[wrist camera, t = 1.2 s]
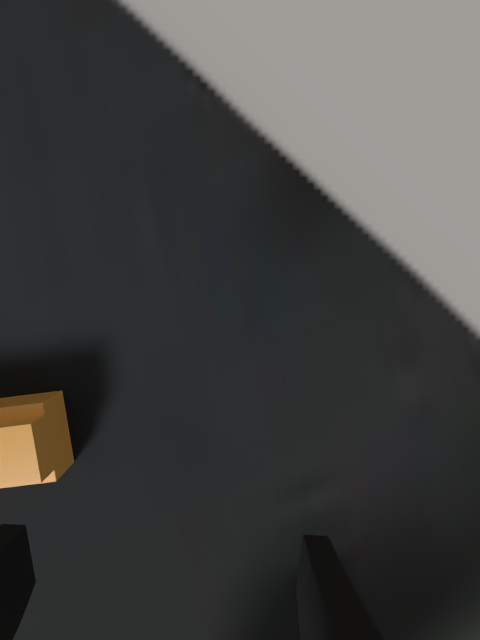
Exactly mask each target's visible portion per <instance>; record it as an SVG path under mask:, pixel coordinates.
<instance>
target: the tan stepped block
mask: <svg viewBox="0 0 480 640" xmlns="http://www.w3.org/2000/svg"><path fill="white" fill-rule="evenodd" d="M73 463H74V457H73V451H72V445H71V439H70V433H69V428H68V422H67V416H66V410H65V404H64V398H63V392H62V391H54V392H46V393H38V394H30V395H22V396H14V397H6V398H0V488H7V487H15V486H23V485H31V484H39V483H48V482H56V481H57V480H58V479H59V478H60V477H61V476H62V475H63V474H64V472H65V471H66V470H67V469H68V468H69V467H70V466H71V465H72V464H73Z"/></svg>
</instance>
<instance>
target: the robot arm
mask: <svg viewBox="0 0 480 640" xmlns="http://www.w3.org/2000/svg"><path fill="white" fill-rule="evenodd" d="M35 582H36V580H35V575H34V569H33V564H32V558H31V553H30V547H29V541H28V536H27V530H26V525H10V524H2V525H0V640H12V639H13V637H14V635H15V633H16V631H17V629H18V627H19V624H20V622H21V619H22V617H23V614H24V612H25V609H26V607H27V604H28V601H29V599H30V596H31V593H32V591H33V588H34V585H35ZM296 599H297V611H298V622H299V633H300V640H385V638H384V637H383V635H382V634H381V632H380V631H379V629H378V627H377V625H376V624H375V622H374V620H373V619H372V617H371V615H370V614H369V612H368V610H367V609H366V607H365V605H364V604H363V602H362V600H361V598H360V597H359V595H358V593H357V591H356V590H355V588H354V586H353V584H352V582H351V580H350V578H349V577H348V575H347V573H346V571H345V569H344V567H343V565H342V563H341V561H340V559H339V557H338V555H337V553H336V551H335V549H334V547H333V545H332V543H331V540H330V539H329V538H328V537H327V536H315V535H303V541H302V548H301V556H300V563H299V570H298V578H297V585H296Z"/></svg>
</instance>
